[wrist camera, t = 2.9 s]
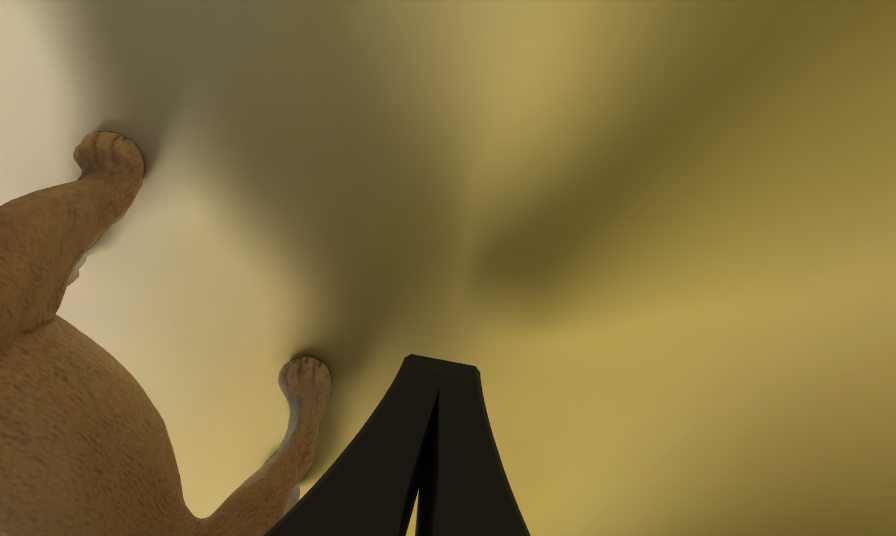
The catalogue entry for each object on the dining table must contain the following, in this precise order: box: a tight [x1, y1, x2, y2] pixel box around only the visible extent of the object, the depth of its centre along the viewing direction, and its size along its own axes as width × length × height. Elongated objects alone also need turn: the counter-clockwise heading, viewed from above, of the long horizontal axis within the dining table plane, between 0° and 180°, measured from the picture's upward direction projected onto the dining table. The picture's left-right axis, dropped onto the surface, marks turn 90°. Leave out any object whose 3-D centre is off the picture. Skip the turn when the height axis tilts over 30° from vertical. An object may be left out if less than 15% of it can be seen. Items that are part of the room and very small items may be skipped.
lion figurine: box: [0, 131, 331, 536], centre depth 9 cm, size 15×5×9 cm, turn 38°
